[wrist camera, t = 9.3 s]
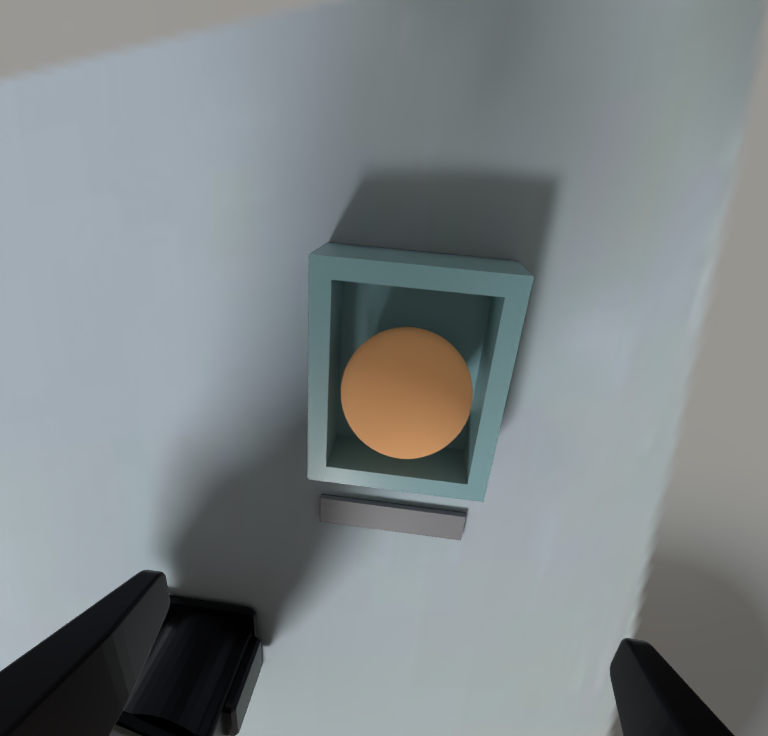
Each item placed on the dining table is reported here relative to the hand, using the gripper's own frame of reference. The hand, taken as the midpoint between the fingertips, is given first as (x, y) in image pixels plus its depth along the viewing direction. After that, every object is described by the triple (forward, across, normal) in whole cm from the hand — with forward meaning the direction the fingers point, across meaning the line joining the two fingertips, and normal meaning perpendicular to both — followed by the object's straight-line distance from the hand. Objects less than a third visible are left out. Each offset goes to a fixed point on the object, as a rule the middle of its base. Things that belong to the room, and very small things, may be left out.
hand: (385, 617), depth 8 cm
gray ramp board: (+12, 0, +9) cm, 15 cm away
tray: (+12, 0, 0) cm, 12 cm away
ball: (+9, 0, 0) cm, 9 cm away
